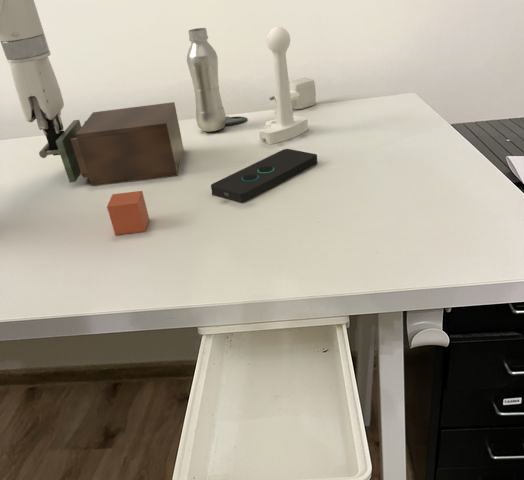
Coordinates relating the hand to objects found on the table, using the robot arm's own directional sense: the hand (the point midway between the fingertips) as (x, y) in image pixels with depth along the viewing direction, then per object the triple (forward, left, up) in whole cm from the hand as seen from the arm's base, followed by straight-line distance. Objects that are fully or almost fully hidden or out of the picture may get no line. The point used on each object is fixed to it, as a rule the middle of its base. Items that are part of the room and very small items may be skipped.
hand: (61, 153), depth 108 cm
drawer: (+7, 0, -4) cm, 8 cm away
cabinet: (+14, 0, -5) cm, 15 cm away
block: (+17, -28, -5) cm, 33 cm away
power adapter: (+47, +28, -5) cm, 55 cm away
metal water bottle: (+28, +19, -5) cm, 35 cm away
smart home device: (+39, -14, -5) cm, 42 cm away
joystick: (+43, +10, -5) cm, 45 cm away
